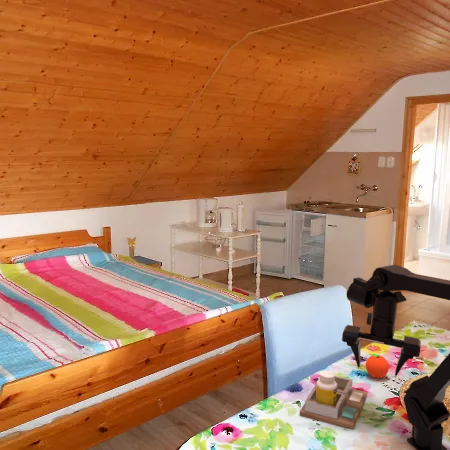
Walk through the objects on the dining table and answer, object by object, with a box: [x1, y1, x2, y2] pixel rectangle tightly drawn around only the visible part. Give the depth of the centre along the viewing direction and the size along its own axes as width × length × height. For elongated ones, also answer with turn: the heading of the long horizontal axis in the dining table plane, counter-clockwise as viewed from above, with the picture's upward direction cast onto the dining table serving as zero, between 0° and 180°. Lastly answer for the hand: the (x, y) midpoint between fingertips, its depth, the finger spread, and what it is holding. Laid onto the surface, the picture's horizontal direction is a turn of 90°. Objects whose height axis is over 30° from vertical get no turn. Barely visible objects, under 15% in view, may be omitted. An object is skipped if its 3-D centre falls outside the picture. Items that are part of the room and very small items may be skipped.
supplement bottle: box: [315, 370, 337, 407], centre depth 126 cm, size 5×5×10 cm
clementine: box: [364, 353, 390, 379], centre depth 147 cm, size 8×7×7 cm
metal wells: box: [304, 375, 353, 420], centre depth 131 cm, size 18×9×3 cm, turn 153°
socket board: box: [299, 388, 368, 430], centre depth 131 cm, size 19×14×2 cm
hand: (377, 371), depth 123 cm, fingers open, 9 cm apart
